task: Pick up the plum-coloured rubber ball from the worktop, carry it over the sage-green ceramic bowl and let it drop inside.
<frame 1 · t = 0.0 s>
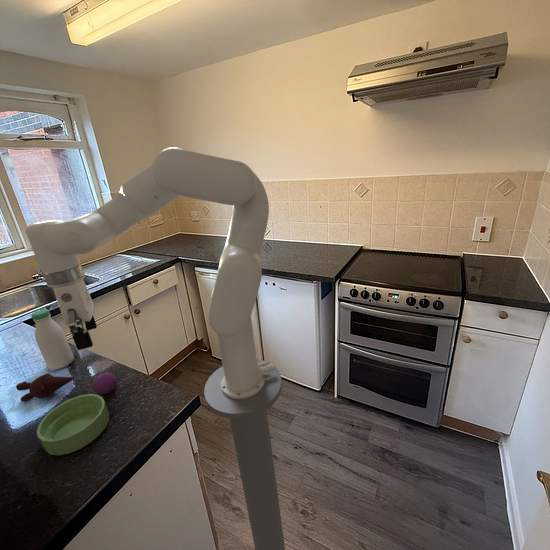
hand: (88, 338, 75), 21 cm above the countertop, tool pointing down, fingers open, 9 cm apart
bowl: (78, 430, 75), on the countertop
milk bottle: (61, 363, 103), on the countertop
ball: (105, 383, 86), point 3 cm above the countertop
brown gnome figurine: (50, 395, 88), on the countertop
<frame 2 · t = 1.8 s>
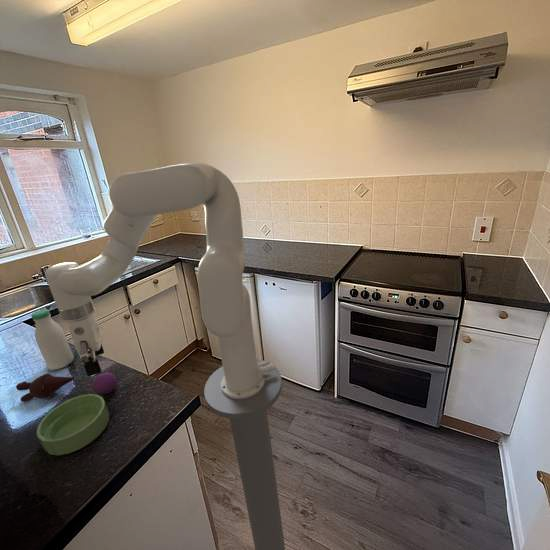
hand: (96, 363, 84), 10 cm above the countertop, tool pointing down, fingers open, 9 cm apart
nothing on the countertop moved.
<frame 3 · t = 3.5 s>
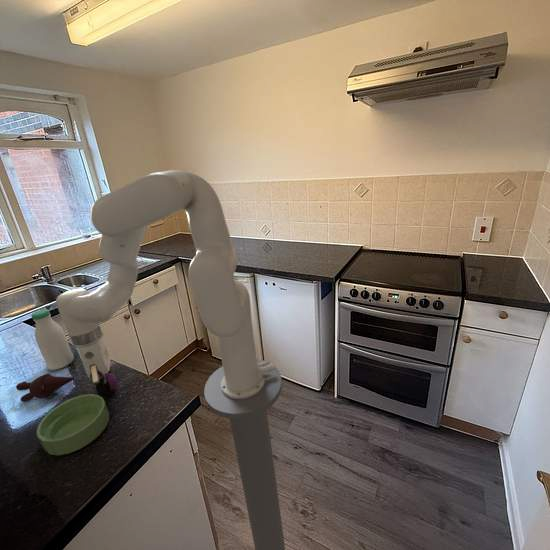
hand: (106, 386, 87), 2 cm above the countertop, tool pointing down, fingers closed on ball, 5 cm apart
ball: (105, 383, 86), point 3 cm above the countertop, touching gripper
everything else where it was.
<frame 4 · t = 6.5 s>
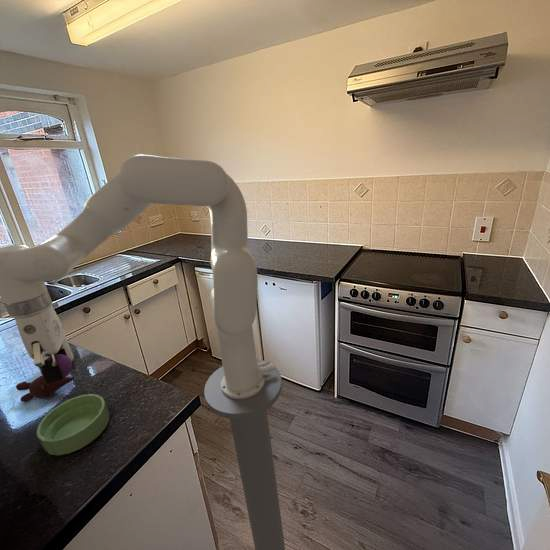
hand: (58, 371, 70), 17 cm above the countertop, tool pointing down, fingers closed on ball, 5 cm apart
ball: (56, 367, 70), point 18 cm above the countertop, touching gripper
everything else where it was.
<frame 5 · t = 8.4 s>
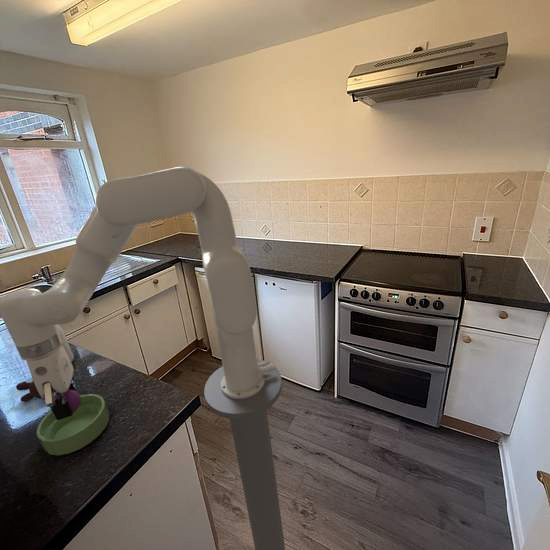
hand: (67, 406, 72), 8 cm above the countertop, tool pointing down, fingers closed on ball, 5 cm apart
ball: (65, 403, 71), point 9 cm above the countertop, touching gripper
everything else where it was.
when the fingers open (5 cm above the countertop, at t = 9.7 s): ball drops 3 cm, resting on bowl.
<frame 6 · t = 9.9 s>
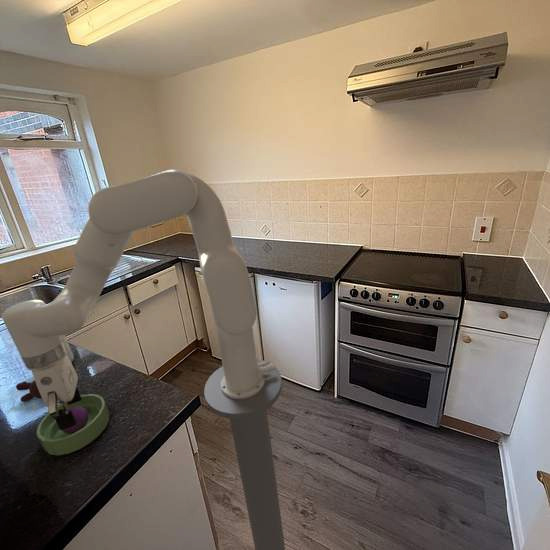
hand: (71, 413, 73), 6 cm above the countertop, tool pointing down, fingers open, 8 cm apart
ball: (74, 419, 73), point 4 cm above the countertop, touching bowl
everything else where it was.
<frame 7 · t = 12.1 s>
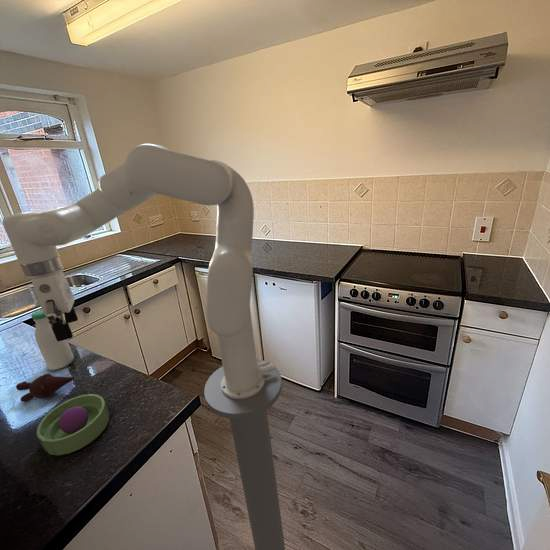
hand: (68, 330, 75), 23 cm above the countertop, tool pointing down, fingers open, 9 cm apart
nothing on the countertop moved.
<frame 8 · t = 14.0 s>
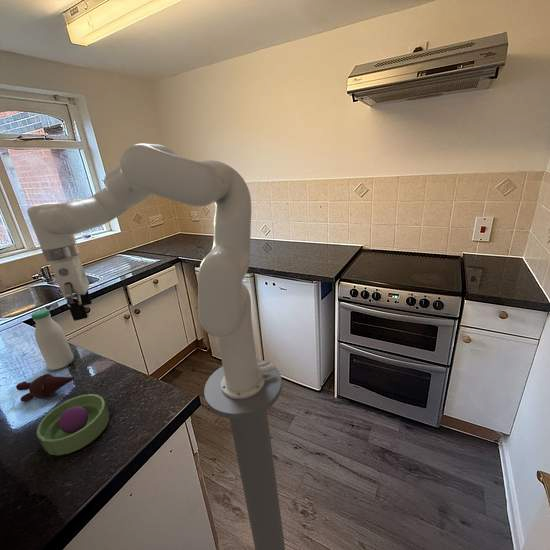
hand: (83, 311, 83), 24 cm above the countertop, tool pointing down, fingers open, 9 cm apart
nothing on the countertop moved.
at the end: ball inside the target area in the bowl (0.1 cm from its centre), point 3.6 cm above the bowl's base; the gripper is holding nothing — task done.
